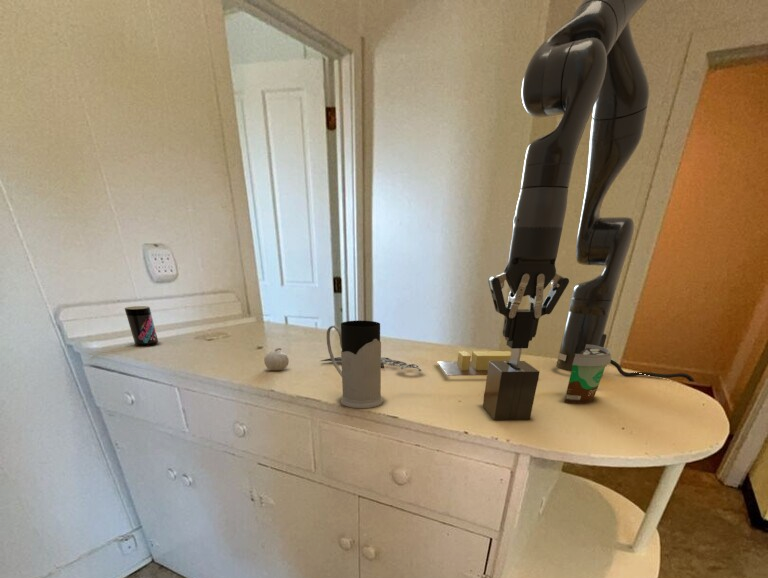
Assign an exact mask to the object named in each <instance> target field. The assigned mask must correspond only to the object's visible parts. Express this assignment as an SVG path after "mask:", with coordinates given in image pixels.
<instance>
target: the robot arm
mask: <svg viewBox="0 0 768 578" xmlns="http://www.w3.org/2000/svg"><path fill="white" fill-rule="evenodd" d="M647 2H648V0H582V1H581V2H580V4H579V6H578V7H577V9H576V10H575V12H574V13H573V15H572V17H571V18H570V20H568V21H567V22H565V23H564V24H563V25H561V26H560V27H559V28H558V29H556V31H555V32H554V33H553V34H551V35H550V36H549V37H548V38H547V39H545V41H543V42H542V44H541V45H540V46H539V47H538V48H537V50H536V51H535V52H534V54H533V55H532V57H531V59H530V60H529V62H528V65H527V67H526V69H525V72H524V75H523V79H522V83H521V100H522V101H521V102H522V104H523V107H524V110H525V111H526V113H528V115H530V116H531V117H533V118H538V119H539V118H549V117H554V116H561V115H562V116H561V119H560V121H559V123H558V124H557V126H556V127H555V128H554V130H552V131H551V132H549V133H547V134H545V135H543V136H540V137H538V138H536V139H534V140H532V141H531V142H530V143H529V144H528V146H527V148H526V152H525V156H524V157H525V158H524V163H523V170H522V176H521V183H520V191H519V196H518V199H517V203H516V207H515V213H514V216H513V221H512V223H513V227H512V233H511V241H510V247H509V252H508V253H509V254H508V262H507V265H506V267H504V271H503V272H502V273H499V274H497V275H495V276H493V275H491V276H490V277H488V279H487V282H488V286H489V290H490V294H491V298H492V301H493V302H492V303H493V306H494V309H495V312H496V313H498V314H500V315H502V316H503V317H504V321H503V326H502V327H503V328H502V336H503V337H504V339H505V341H506V342H507V341H512V338H513V332H514V326H515V320H516V319H515V318H514V317H515V316H516V313H517V310H518V309H519V306H520V304H521V303H522V300H523V298H525V297H527V296H528V302H529V310H531V311H534V318H533V323H532V329H531V334H530V339H529V342H532V341H533V338H536V335H537V332H538V328H539V327H538V326H539V321H540V318H541V317H543V316H545V315H551V314H552V313H553V311H554V309H555V307H556V306H557V303H559V300H560V299H561V297H562V295H563V294H564V292H565V290H566V289H567V287H568V285H569V283H570V279H569V278H568V277H565V276H562V275H560V274H559V273H557V268H556V261H557V257H558V253H559V247H560V243H561V238H562V234H563V233H562V232H563V228H564V222H565V217H566V212H567V206H568V195H569V187H570V183H571V178H572V173H573V167H574V162H575V158H576V155H577V152H578V148H579V146H580V143H581V139H582V137H583V135H584V131H585V129H586V126H587V123H588V121H589V120H590V117H591V123H590V131H589V132H590V133H589V143H588V144H589V145H588V155H587V168H586V179H585V187H584V194H583V200H582V201H583V202H582V207H581V212H580V218H579V224H578V230H577V237H576V242H575V243H576V244H575V260H576V262H577V264H579V265H582V266H594V267H595V266H597V267H604V268H603V271H602V272H601V273H600V274H599V275H597V276H596V277H594V278H592V279H590V280H586V281H583V282H580V283H577V284H575V285H574V287H573V290H572V293H571V298H570V304H569V308H568V312H567V317H566V320H565V325H564V329H563V334H562V339H561V342H560V346H559V347H560V348H559V352H558V356H557V360H556V367H555V368H558V369H560V370H563V371H568V372H571V371H572V366H573V365H572V364H573V361H574V357H575V354H580V352H581V351H584V350H585V347H586V344H588V345H595V346H600V347H604V348H605V343H606V340H607V338H608V337H607V336H608V335H607V334H606V333H605V331H606V327H607V323H608V319H609V316H610V313H611V309H612V305H613V301H614V298H615V295H616V291H617V287H618V285H619V281H620V278H621V274H622V271H623V269H624V268H623V267H624V265H625V263H626V262H625V261H626V258H627V255H628V252H629V249H630V247H631V243H632V241H633V237H634V236H633V235H634V229H635V225H634V224H635V223H634V220H633V219H632V218H631V217H628V216H625V217H624V216H623V217H622V216H619V217H618V216H615V217H614V216H613V217H612V216H611V217H610V216H609V217H608V216H607V217H603V216H602V217H601V216H600V213H601V209H602V205H603V202H604V199H605V197H606V196H607V193H608V191H609V190H610V188H611V187H612V185H613V184H614V182H615V180H616V179H617V178H618V176H619V174H621V172H622V170H623V169H624V168H625V166H626V164H627V163H628V162H629V161H630V159H631V157H632V156H633V154H634V153H635V151H637V150H636V149H637V148H638V146H639V144H640V142H641V140H642V137H643V132H644V127H645V124H646V123H645V122H646V115H647V112H648V105H649V101H650V84H649V80H648V76H647V74H646V70H645V68H644V65H643V63H642V60H641V58H640V55H639V52H638V50H637V48H636V45H635V42H634V38H633V35H632V29H631V22H630V21H631V20H632V18H633V17H634V16H635V14H637V12H639V10H640V9H641V8H642V7H643V6H644V5H645V4H646V3H647ZM505 281H506V283H507V286H508V287H509V293H508V297H507V302H505V298H504V292H503V289H504V287H505ZM549 284H550V290H549V291H548V293H547V295H546V297H545V299H544V290H545V289H546V288H547V287H548V285H549ZM610 364H611V366H614V367H615V368H616V370H617V371H618V372H619V374H620V375H622V376H624V377H635V376H636V377H637V376H646V377H652V378H653V377H654V378H662V379H668V378H670V379H671V378H685V379H686V380H688V381H689V382H692V383H695V379H694V378H693V377H692V376H691V375H690V374H687V373H684V372H677V373H658V372H657V373H655V372H649V371H633V372H627V371H624V370H623V368H622V367H621V365H620V364H619V363H618V362H617V361H615V360H613V359H611V362H610ZM610 364H609V365H610ZM605 367H607V365H606V366H605ZM634 372H635V373H634ZM636 372H637V373H636ZM639 373H642V374H639ZM644 374H646V375H644ZM648 375H650V376H648Z"/></svg>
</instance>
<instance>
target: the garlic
mask: <svg viewBox="0 0 768 578" xmlns="http://www.w3.org/2000/svg"><path fill="white" fill-rule="evenodd" d="M263 362H264V363H263V364H264V365H265V367H266V368H267V370H270V371H274V372H275V371H283V370H285V369H286V368H287V367H288V366H289V362H290V361H289V357H288V354H286V353H284V352H282V348H281V347H276V348H275V349H274V350H272V351H269V352H268V353H267V354H265V356H264V359H263Z"/></svg>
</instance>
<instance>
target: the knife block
mask: <svg viewBox="0 0 768 578" xmlns="http://www.w3.org/2000/svg"><path fill="white" fill-rule="evenodd" d="M509 362H510V361H489V366H488V373H487V375H486V381H485V388H484V395H483V401H482V407H483V408H484V410H485V411H486V412H487V414H488V415H489V416H490V417H491V418H492V420H493V421H514V420H515V421H522V420H523V421H524V420H525V421H527V420H528V421H529V420H531V416H532V412H533V406H534V402H535V397H536V391H537V387H538V382H539V378H540V373H541V372H540V370H538V369H537V368H535V367H533V365H531V364H530V363H528V362H526V361H525V360H520V362H519V367H518V370H515V369H513V368H512V367H511V366H509Z"/></svg>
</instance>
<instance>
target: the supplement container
mask: <svg viewBox="0 0 768 578" xmlns="http://www.w3.org/2000/svg"><path fill="white" fill-rule="evenodd" d="M124 311H125V315H126V318H127V321H128V325H129V329H130V332H131V336H132V339H133V343H134V345H135V346H137V347H142V348H143V347H153V346H157V345H158V344H159V339H158V335H157V330H156V327H155V323H154V319H153V315H152V312H151V311H152V310H151V308H150V306H148V305H147V306H146V305H145V306H144V305H135V306H126V307H124Z"/></svg>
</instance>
